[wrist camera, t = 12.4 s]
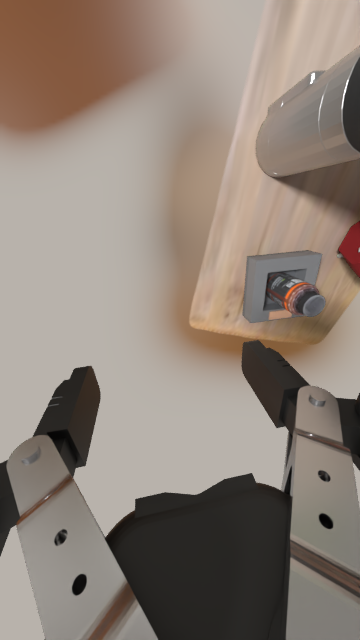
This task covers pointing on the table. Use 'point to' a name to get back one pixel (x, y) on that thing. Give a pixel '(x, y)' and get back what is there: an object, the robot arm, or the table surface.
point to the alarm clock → (352, 248)
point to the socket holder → (266, 266)
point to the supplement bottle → (294, 295)
